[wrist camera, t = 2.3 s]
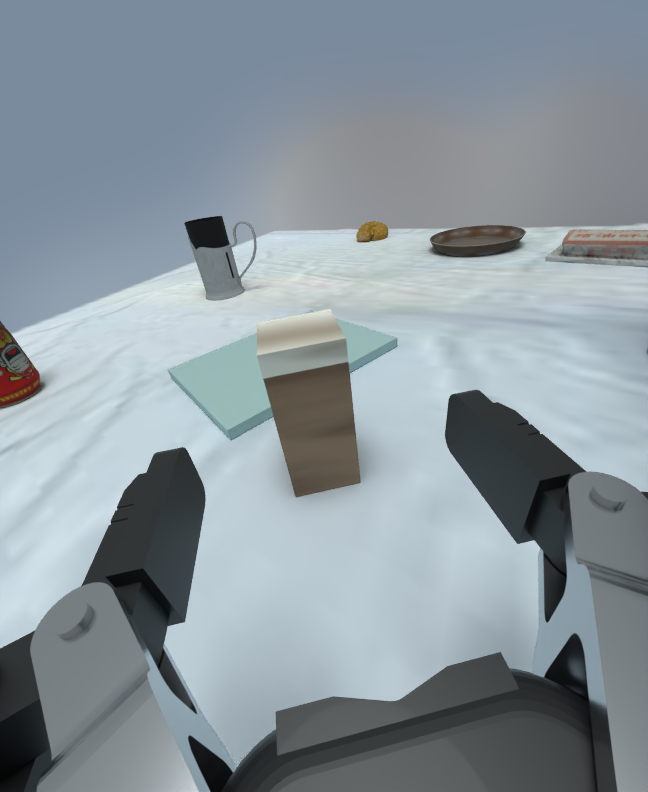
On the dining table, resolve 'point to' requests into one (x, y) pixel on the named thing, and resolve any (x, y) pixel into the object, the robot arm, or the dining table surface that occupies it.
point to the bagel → (372, 232)
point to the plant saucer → (477, 240)
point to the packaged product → (603, 248)
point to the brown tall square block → (310, 399)
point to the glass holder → (216, 257)
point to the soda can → (15, 372)
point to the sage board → (256, 377)
